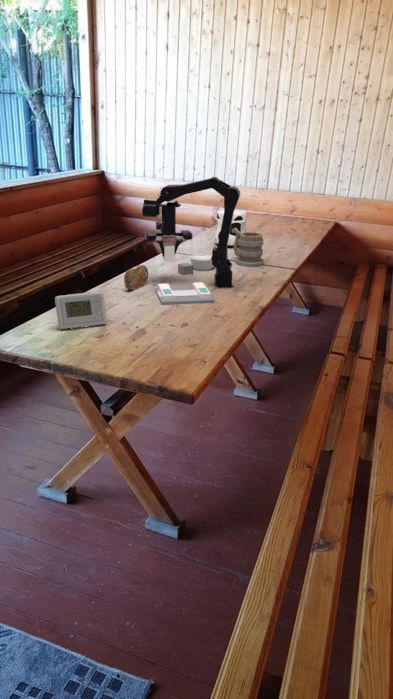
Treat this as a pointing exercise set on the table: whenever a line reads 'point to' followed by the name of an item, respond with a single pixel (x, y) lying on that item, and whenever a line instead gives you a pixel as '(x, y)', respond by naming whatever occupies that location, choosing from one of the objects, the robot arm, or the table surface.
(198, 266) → the ramekin
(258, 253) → the tankard
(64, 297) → the digital clock
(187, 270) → the loose block
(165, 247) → the block
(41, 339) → the table surface
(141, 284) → the tin
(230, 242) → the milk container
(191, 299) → the rail board
